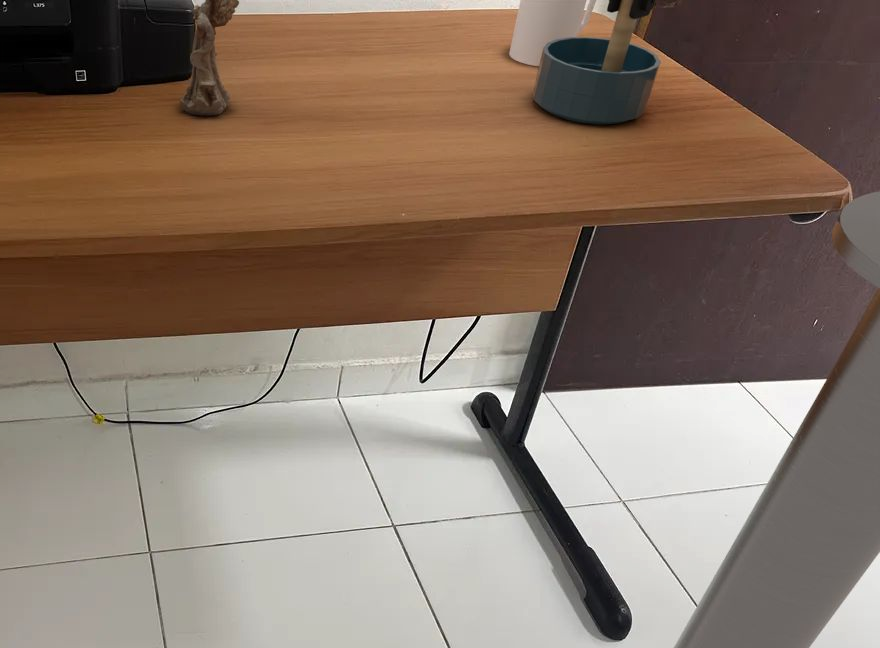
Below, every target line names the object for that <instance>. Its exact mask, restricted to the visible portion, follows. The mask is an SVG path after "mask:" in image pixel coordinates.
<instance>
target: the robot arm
mask: <svg viewBox="0 0 880 648" xmlns="http://www.w3.org/2000/svg"><path fill="white" fill-rule="evenodd" d="M620 2H621V0H608V4H607V8H606V12H608V13H611V14H612V13H615V12H616V13H617V12H618V10H619V6H620ZM656 2H657V0H633V3H632V6H631V10H630V13H629V16H630V18H632V19H637V20H638V19H641V18H643V17H647V16H649V15H650V14H651V11H652V10H653V9H654V7H655V5H656Z"/></svg>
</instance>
